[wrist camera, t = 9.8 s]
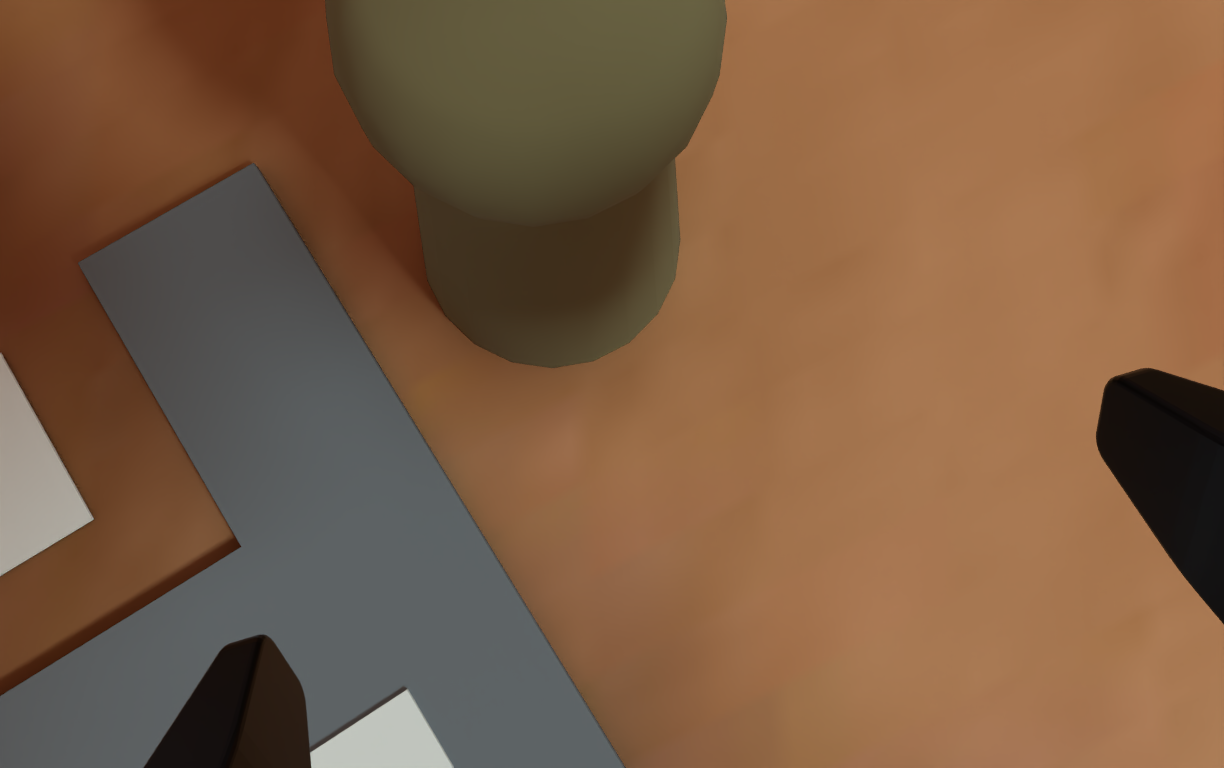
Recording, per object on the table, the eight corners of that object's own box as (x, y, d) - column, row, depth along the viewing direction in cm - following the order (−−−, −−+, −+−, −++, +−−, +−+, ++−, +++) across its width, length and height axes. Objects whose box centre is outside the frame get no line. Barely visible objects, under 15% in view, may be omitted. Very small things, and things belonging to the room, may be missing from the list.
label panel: (729, 937, 19) (733, 947, 19) (131, 1366, 18) (119, 1387, 17) (258, 167, 21) (251, 160, 21) (-310, 490, 20) (-329, 489, 19)
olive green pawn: (369, 269, 21) (139, -3, 10) (522, 71, 22) (464, -377, 11) (582, 419, 21) (583, 305, 10) (729, 212, 21) (882, -106, 11)
